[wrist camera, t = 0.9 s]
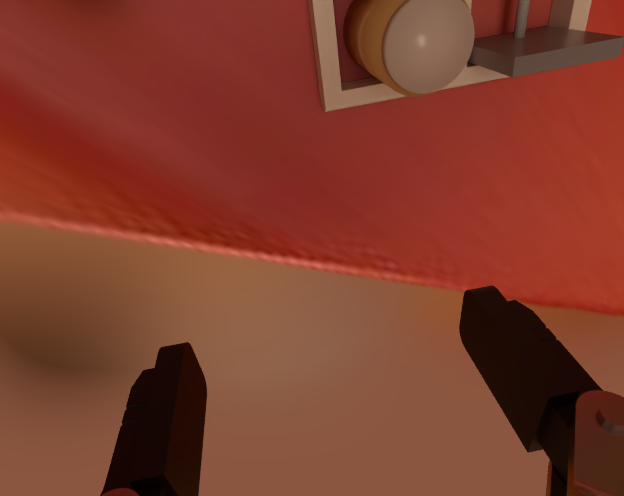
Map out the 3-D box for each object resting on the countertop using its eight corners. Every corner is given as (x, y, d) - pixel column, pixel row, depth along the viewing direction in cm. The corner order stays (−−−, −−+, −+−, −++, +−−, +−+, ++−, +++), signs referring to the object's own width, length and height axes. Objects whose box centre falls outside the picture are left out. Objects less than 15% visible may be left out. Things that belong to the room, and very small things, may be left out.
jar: (339, -10, 29) (376, -7, 21) (418, -24, 29) (486, -27, 21) (346, 76, 32) (381, 108, 24) (417, 63, 33) (476, 90, 24)
